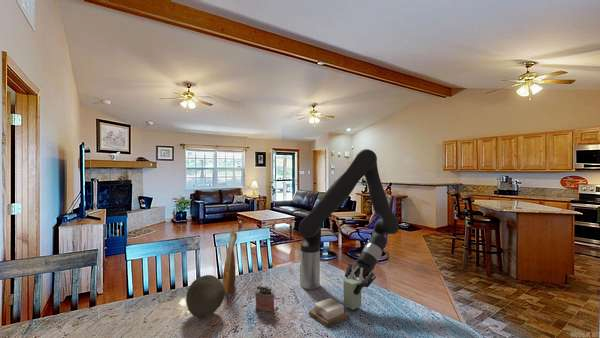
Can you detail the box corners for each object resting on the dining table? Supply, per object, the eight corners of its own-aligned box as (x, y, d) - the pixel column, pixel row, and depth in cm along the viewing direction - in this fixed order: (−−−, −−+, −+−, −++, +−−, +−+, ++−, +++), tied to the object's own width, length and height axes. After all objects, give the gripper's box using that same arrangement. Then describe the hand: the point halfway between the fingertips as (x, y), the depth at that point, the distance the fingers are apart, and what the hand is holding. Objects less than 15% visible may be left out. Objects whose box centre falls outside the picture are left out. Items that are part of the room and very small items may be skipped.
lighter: (275, 311, 114) (275, 286, 114) (272, 315, 111) (272, 289, 111) (257, 308, 117) (257, 283, 117) (253, 311, 114) (253, 286, 114)
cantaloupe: (188, 329, 102) (188, 286, 102) (184, 311, 114) (184, 274, 114) (228, 319, 108) (228, 279, 108) (220, 303, 121) (220, 268, 121)
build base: (308, 314, 111) (308, 303, 111) (330, 306, 118) (330, 295, 118) (327, 327, 102) (327, 314, 102) (349, 317, 109) (349, 306, 109)
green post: (343, 304, 117) (343, 280, 117) (352, 301, 120) (352, 277, 120) (352, 309, 113) (352, 284, 113) (361, 306, 116) (361, 281, 116)
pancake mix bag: (237, 279, 148) (236, 224, 148) (237, 294, 130) (236, 232, 130) (223, 280, 147) (223, 225, 147) (221, 296, 128) (221, 233, 128)
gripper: (353, 247, 127) (333, 280, 120) (379, 255, 115) (358, 292, 108) (361, 257, 130) (342, 290, 123) (387, 265, 118) (368, 302, 111)
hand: (350, 291), depth 116 cm, fingers closed on green post, 5 cm apart
